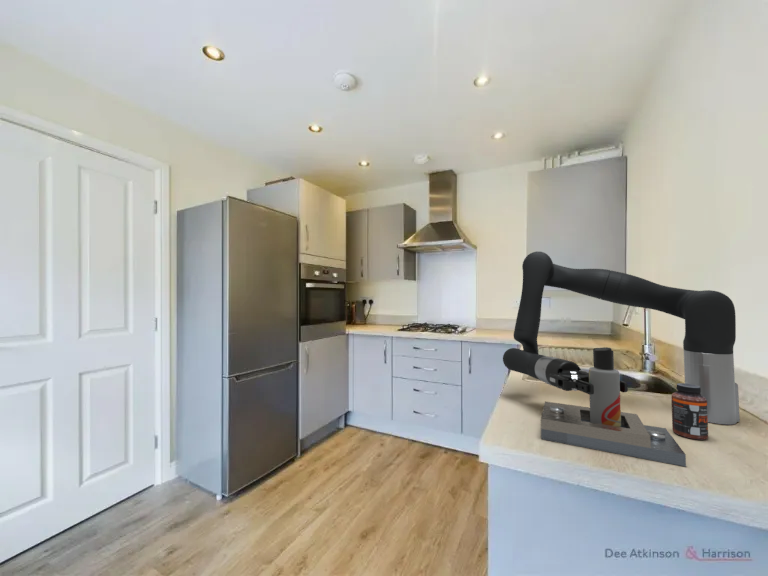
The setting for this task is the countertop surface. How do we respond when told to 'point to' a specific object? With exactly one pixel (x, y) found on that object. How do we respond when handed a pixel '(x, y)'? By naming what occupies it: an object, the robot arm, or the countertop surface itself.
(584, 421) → the bolted steel plate
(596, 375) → the lotion bottle
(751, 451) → the countertop surface
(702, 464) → the countertop surface
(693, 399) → the supplement bottle
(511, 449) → the countertop surface
